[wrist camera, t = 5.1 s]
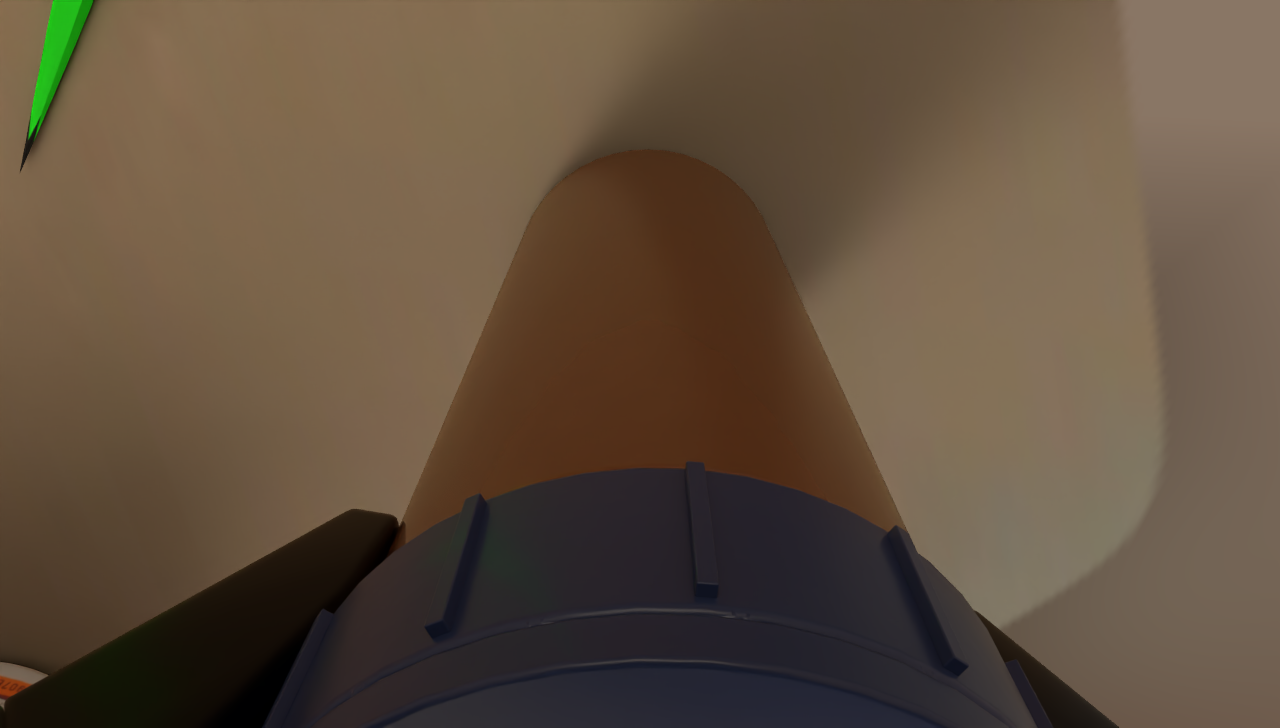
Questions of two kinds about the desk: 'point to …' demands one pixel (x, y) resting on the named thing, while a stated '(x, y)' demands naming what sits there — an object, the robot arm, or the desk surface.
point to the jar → (648, 352)
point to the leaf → (55, 58)
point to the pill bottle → (16, 679)
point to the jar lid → (654, 619)
